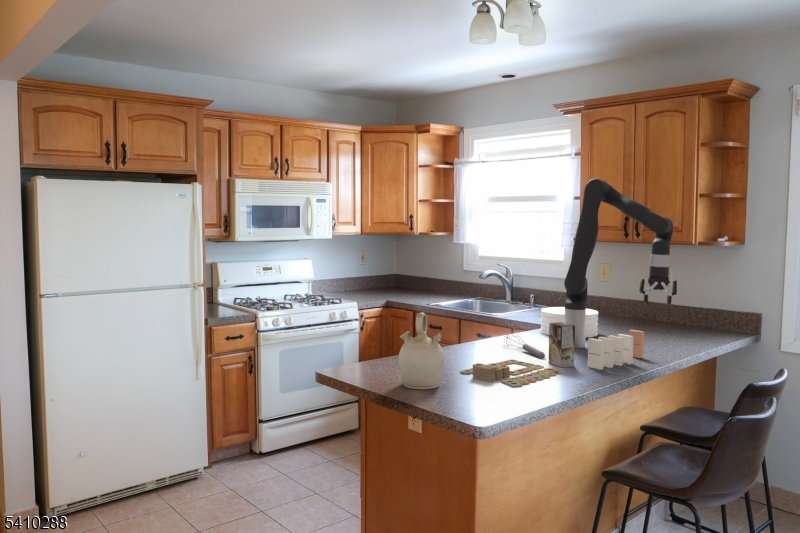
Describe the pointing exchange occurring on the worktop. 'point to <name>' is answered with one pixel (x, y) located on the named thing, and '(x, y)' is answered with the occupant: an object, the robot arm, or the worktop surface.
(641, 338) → the rust tile
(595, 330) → the plate stack
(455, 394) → the worktop surface
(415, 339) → the jug
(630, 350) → the ivory tile
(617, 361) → the ivory tile
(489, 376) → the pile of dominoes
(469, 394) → the worktop surface
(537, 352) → the kitchen whisk
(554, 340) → the coffee box
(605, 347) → the ivory tile
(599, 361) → the ivory tile
